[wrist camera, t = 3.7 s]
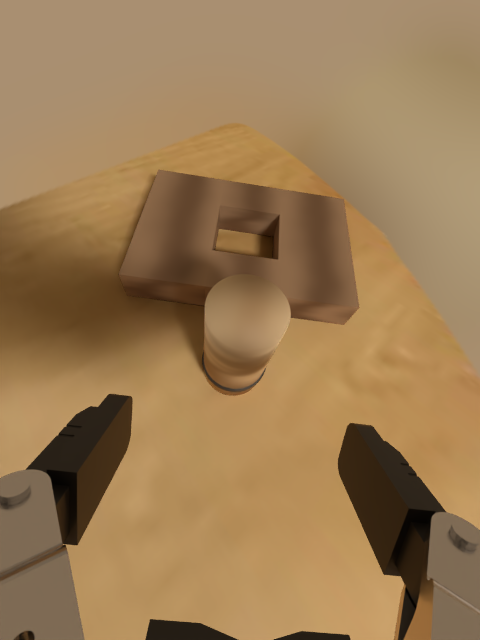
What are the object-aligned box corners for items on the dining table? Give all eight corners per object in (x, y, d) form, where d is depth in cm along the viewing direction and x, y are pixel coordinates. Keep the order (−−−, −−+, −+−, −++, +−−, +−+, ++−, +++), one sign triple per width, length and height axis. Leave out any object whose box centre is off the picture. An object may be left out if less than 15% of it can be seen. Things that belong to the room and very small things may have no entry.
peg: (198, 398, 22) (195, 343, 13) (206, 343, 24) (209, 267, 16) (257, 405, 22) (292, 356, 14) (260, 350, 25) (292, 279, 16)
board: (126, 295, 26) (118, 274, 23) (161, 194, 33) (158, 169, 30) (343, 324, 27) (359, 307, 24) (332, 220, 34) (343, 199, 31)
